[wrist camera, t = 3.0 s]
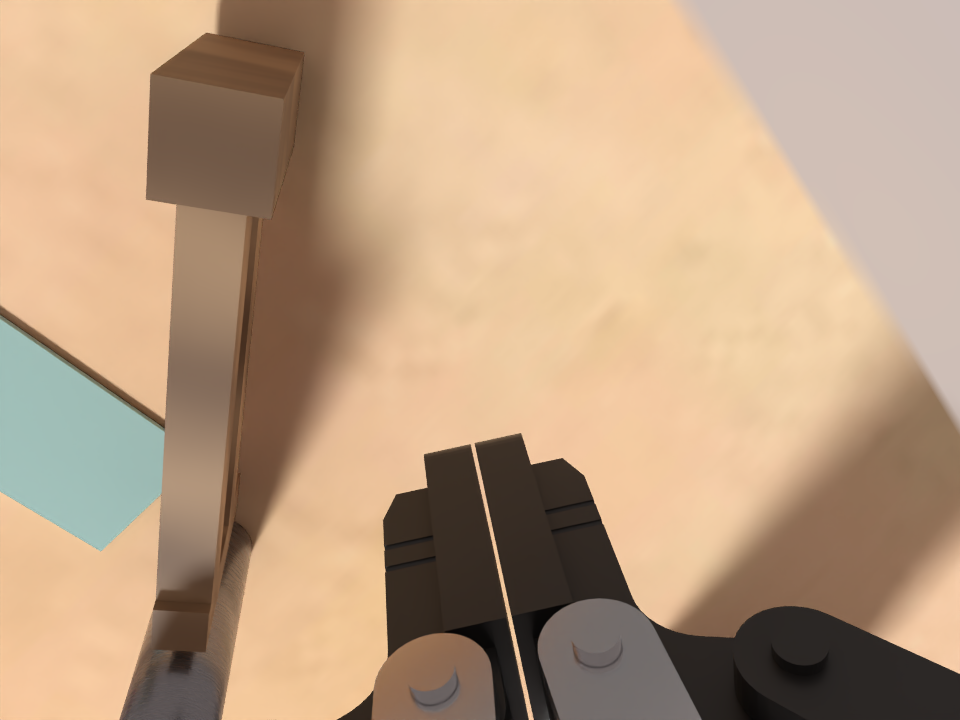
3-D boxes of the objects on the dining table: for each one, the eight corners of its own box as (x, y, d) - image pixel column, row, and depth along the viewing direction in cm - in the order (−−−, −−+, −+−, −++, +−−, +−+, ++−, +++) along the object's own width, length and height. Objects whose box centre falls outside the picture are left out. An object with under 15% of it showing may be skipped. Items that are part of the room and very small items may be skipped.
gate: (253, 508, 32) (225, 653, 26) (176, 501, 32) (130, 648, 25) (304, 52, 25) (284, 99, 18) (205, 32, 24) (150, 74, 18)
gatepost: (255, 519, 33) (210, 767, 23) (248, 577, 34) (203, 835, 25) (175, 512, 33) (96, 764, 23) (172, 572, 34) (95, 833, 24)
